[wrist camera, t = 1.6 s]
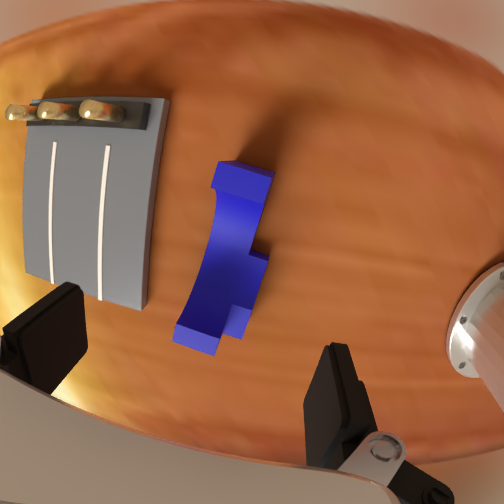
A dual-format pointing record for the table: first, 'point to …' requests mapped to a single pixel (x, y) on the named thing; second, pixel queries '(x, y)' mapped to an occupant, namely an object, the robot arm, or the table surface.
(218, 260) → the blue curved bracket
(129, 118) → the brass pins
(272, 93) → the table surface
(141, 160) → the header board
